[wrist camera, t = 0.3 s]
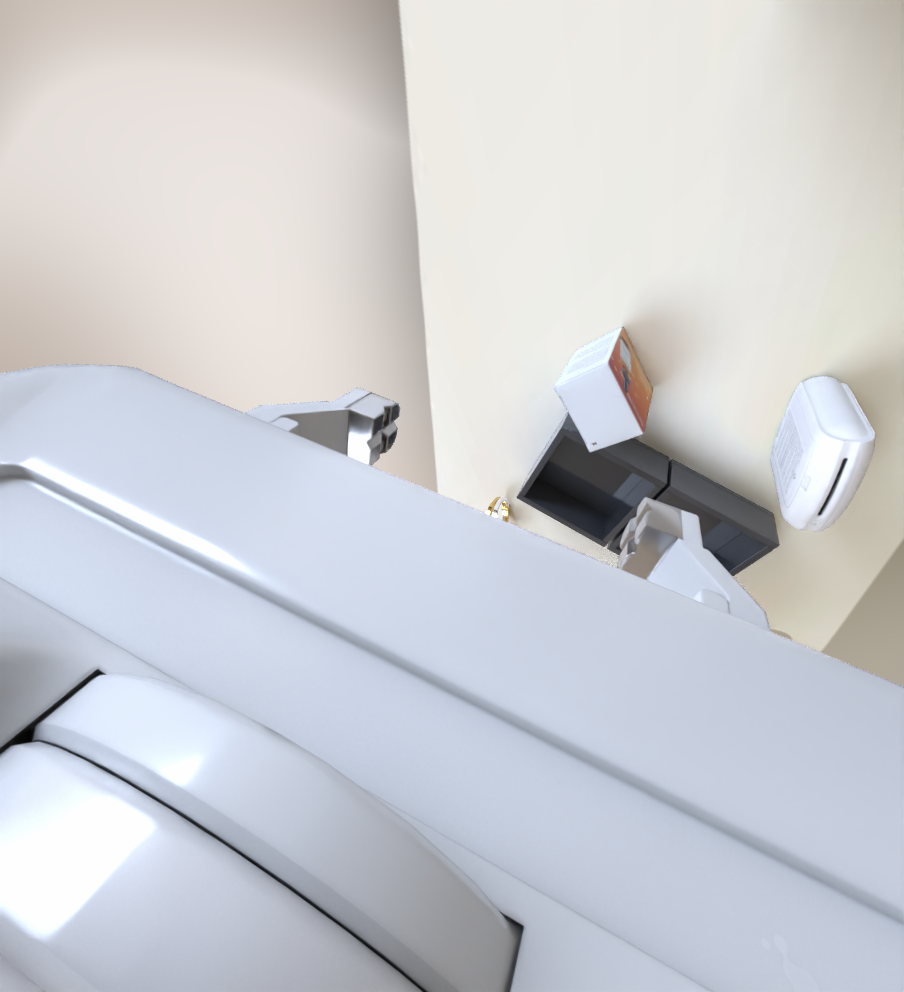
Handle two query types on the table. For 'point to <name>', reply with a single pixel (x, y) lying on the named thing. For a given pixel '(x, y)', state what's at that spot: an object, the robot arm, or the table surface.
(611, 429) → the small box
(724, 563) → the basin
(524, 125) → the table surface
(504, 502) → the ring
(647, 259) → the table surface
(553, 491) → the basin
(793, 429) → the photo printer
